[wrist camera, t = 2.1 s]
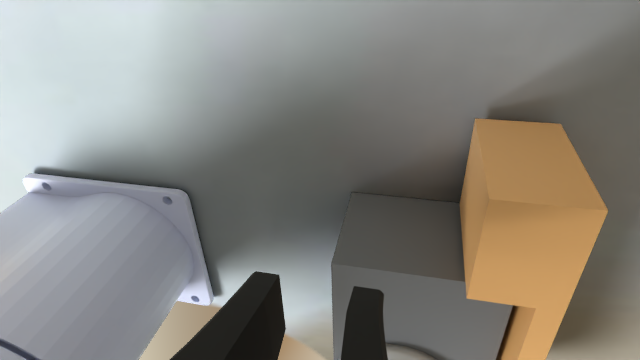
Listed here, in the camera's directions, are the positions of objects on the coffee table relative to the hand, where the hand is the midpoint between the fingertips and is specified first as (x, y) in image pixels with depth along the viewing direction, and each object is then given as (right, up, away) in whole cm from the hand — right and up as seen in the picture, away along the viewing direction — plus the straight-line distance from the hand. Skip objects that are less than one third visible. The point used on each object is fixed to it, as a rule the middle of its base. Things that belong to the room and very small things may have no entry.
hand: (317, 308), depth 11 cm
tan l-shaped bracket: (+7, -1, +8) cm, 11 cm away
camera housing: (+5, -2, +10) cm, 11 cm away
